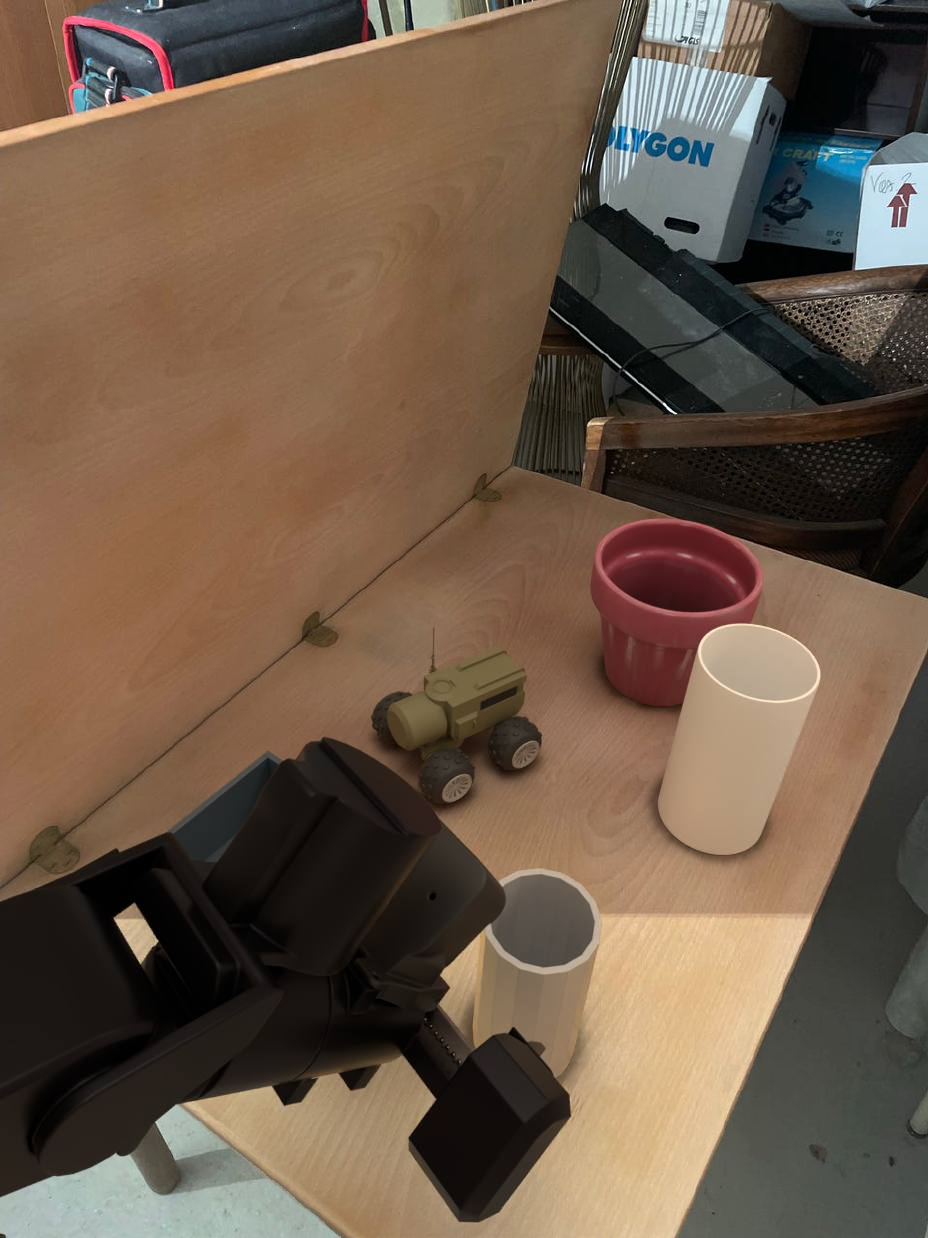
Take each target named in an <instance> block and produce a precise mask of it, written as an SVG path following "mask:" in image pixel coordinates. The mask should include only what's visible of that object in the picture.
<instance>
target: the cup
mask: <svg viewBox="0 0 928 1238" xmlns="http://www.w3.org/2000/svg"><path fill="white" fill-rule="evenodd" d="M820 680H821V668H820V666H819V663H818V661H817V658H816V657H815V656H814V654H813V653H812V652H811V651H810V650H809V648H808V647H806V646H805V645H804V644H803V643H802V642H800V641H799V640H797V639H795V638H794V637H792V635H791V636H790V635H788V634H787V633H785V632H782V631H781V630H777V629H775V628H771V627H768V626H764V625H760V624H753V623H750V624H730V625H725V626H721V627H718V628H716V629H714V630H712V631H710V632H709V633H707V634H706V635H705V636H704V637H703V639H702V640H701V642H700V644H699V647H698V649H697V653H696V657H695V661H694V664H693V668H692V672H691V676H690V679H689V683H688V687H687V691H686V695H685V698H684V702H683V703H682V706H681V709H680V710H681V711H680V714H679V718H678V722H677V726H676V729H675V733H674V737H673V741H672V745H671V748H670V752H669V756H668V760H667V763H666V768H665V770H664V775H663V778H662V782H661V786H660V790H659V794H658V799H657V810H658V814H659V817H660V819H661V821H662V823H663V825H664V826H665V828H666V829H667V831H669V832H670V834H671V835H673V837H675V838H676V839H677V840H678V841H680V842H681V843H682V844H684V845H686V846H687V847H688V848H691V849H693V850H696V851H697V852H702V853H706V854H710V855H715V856H731V855H736V854H739V853H743V852H745V851H747V850H749V849H750V848H752V847H753V846H754V845H755V844H756V843H757V842H758V841H759V839H760V837H761V836H762V833H763V831H764V828H765V826H766V823H767V821H768V818H769V815H770V812H771V810H772V807H773V805H774V802H775V799H776V797H777V795H778V792H779V789H780V788H781V784H782V782H783V779H784V776H785V774H786V772H787V769H788V766H789V764H790V761H791V758H792V756H793V753H794V751H795V748H796V745H797V743H798V740H799V738H800V735H801V732H802V730H803V728H804V724H805V722H806V720H807V717H808V715H809V712H810V709H811V706H812V703H813V701H814V699H815V696H816V693H817V691H818V688H819V685H820Z"/></svg>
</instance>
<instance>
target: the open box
mask: <svg viewBox="0 0 928 1238" xmlns="http://www.w3.org/2000/svg"><path fill="white" fill-rule="evenodd" d="M282 761H284V760H283V759H282V758H280V757H279V756H277V755H275V754H273V753H272V752H271V751H269V750H267V751H265V752H264V753H263V754H262V755H260V756H259V757H257V759H256V760H254V761H253V762H252V763H250V764H249V765H248V766H247V767H245V768H244V769H243V770H242V771H240V772H239V773H238V774H237V775H235V776H234V777H233V778H232V779H230V780H229V781H228V782H227V783H226V784H224V785H223V786H222V787H220V788H219V789H218V790H216V792H215V793H212V794H211V796H209V797H208V798H207V799H206V800H204V801H203V802H201V803H200V804H199V805H198V806H197V807H196V808H194V809H193V810H192V811H190V812H189V813H187V815H185V816H184V817H183V818H182V819H181V820H179V821H178V822H177V823H175V824H174V825H173V826H172V827H171V828H169V829H168V830H167V831H166V832H171V833H173V834H174V835H175V836H176V838H177V839H178V840H179V842H180V843H181V845H182V846H183V848H184V849H185V851H186V852H187V853H188V855H189V856H190V858H191V859H192V861H204V862H218V860H219V859H220V857H221V856H222V854H223V853H224V852H225V850H226V849H227V847H228V846H229V844H230V843H231V841H232V840H233V838H234V837H235V835H236V834H237V833H238V831H239V830H240V828H241V827H242V825H243V824H244V822H245V821H246V819H247V818H248V816H249V815H250V813H251V812H252V810H253V808H254V807H255V805H256V803H257V800H258V798H259V796H260V794H261V791H262V790H263V788H264V786H265V785H266V783H267V782H268V780H269V779H270V777H271V776H272V774H273V773H274V771H275V770H276V768H277V767H278V765H279V764H280V763H281V762H282Z"/></svg>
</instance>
